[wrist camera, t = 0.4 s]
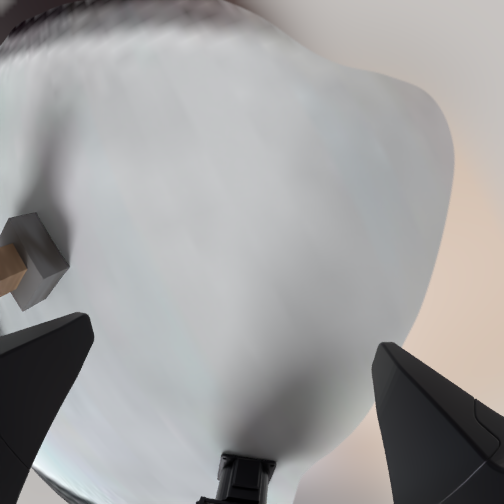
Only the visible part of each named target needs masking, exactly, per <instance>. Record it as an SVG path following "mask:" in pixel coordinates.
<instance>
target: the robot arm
mask: <svg viewBox="0 0 504 504" xmlns="http://www.w3.org/2000/svg"><path fill="white" fill-rule="evenodd" d="M93 342H94V332H93V329H92V325H91V321H90V317H89V316H88V315H87V314H85V313H81V312H75V313H72V314H69V315H66V316H63V317H60V318H57V319H54V320H51V321H48V322H45V323H41V324H38V325H35V326H32V327H29V328H26V329H23V330H20V331H17V332H14V333H11V334H8V335H5V336H1V337H0V504H16V503H17V500H18V498H19V495H20V493H21V490H22V488H23V485H24V483H25V480H26V478H27V476H28V473H29V470H30V468H31V466H32V464H33V462H34V459H35V457H36V455H37V453H38V451H39V449H40V447H41V445H42V442H43V440H44V438H45V436H46V434H47V432H48V430H49V428H50V426H51V424H52V422H53V420H54V419H55V417H56V415H57V413H58V411H59V409H60V407H61V405H62V403H63V402H64V400H65V398H66V396H67V394H68V393H69V391H70V389H71V387H72V385H73V384H74V382H75V380H76V378H77V376H78V374H79V372H80V370H81V368H82V366H83V363H84V361H85V359H86V357H87V355H88V352H89V350H90V348H91V346H92V344H93ZM372 378H373V385H374V394H375V402H376V410H377V416H378V421H379V426H380V430H381V435H382V440H383V445H384V449H385V454H386V460H387V465H388V470H389V476H390V482H391V488H392V494H393V501H394V504H504V417H503V416H501V415H500V414H498V413H496V412H495V411H493V410H492V409H490V408H489V407H487V406H486V405H484V404H483V403H481V402H480V401H479V400H477V399H474V397H473V396H471V395H470V394H468V393H467V392H465V391H464V390H462V389H461V388H459V387H458V386H457V385H455V384H454V383H452V382H451V381H449V380H448V379H446V378H445V377H443V376H442V375H441V374H439V373H437V372H436V371H435V370H433V369H432V368H430V367H429V366H427V365H426V364H424V363H423V362H422V361H420V360H419V359H417V358H415V357H414V356H413V355H411V354H410V353H408V352H407V351H405V350H404V349H402V348H401V347H400V346H398V345H397V344H395V343H393V342H382V343H380V344H379V346H378V348H377V351H376V355H375V358H374V361H373V364H372ZM275 468H276V462H274V461H267V460H259V459H252V458H245V457H239V456H233V455H227V454H222V455H221V459H220V465H219V471H218V478H217V479H218V480H219V486H218V490H217V495H216V499H210V498H206V497H202V496H201V498H200V500H199V501H197V502H196V504H266V503H267V491H268V484H269V481H270V479H271V477H272V475H273V472H274V470H275Z"/></svg>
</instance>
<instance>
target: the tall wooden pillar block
mask: <svg viewBox="0 0 504 504" xmlns="http://www.w3.org/2000/svg"><path fill="white" fill-rule="evenodd" d="M68 269H69V265H68V264H67V262H66V261H65V259H64V258H63V256H62V255H61V253H60V252H59V250H58V249H57V247H56V245H55V244H54V242H53V241H52V239H51V237H50V236H49V234H48V232H47V231H46V229H45V227H44V226H43V224H42V222H41V221H40V219H39V217H38V215H37V213H31V214H26V215H21V216H16V217H12V218H9V219H8V221H7V223H6V225H5V227H4V229H3V231H2V233H1V235H0V297H1V296H3V295H5V294H7V293H9V292H11V294H12V295H13V297H14V299H15V300H16V302H17V304H18V305H19V307H20V308H21V310H22V311H25V310H27V309H29V308H30V307H32V306H34V305H35V304H37V303H39V302H41V301H42V300H44V299H46V298H47V297H48V295H49V294H50V292H51V291H52V290H53V288H54V287H55V286H56V284H57V283H58V282H59V280H60V279H61V278H62V276H63V275H64V274H65V272H66V271H67V270H68Z"/></svg>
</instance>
